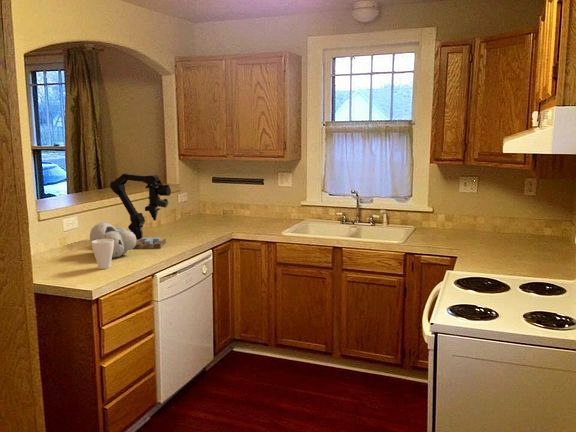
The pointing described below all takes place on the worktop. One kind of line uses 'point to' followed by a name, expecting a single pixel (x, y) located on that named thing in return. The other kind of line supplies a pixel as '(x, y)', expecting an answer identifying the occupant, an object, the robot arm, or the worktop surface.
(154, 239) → the t block
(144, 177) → the robot arm
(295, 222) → the worktop surface
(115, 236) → the grey lobed sculpture
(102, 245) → the cup
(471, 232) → the worktop surface
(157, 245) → the dock
